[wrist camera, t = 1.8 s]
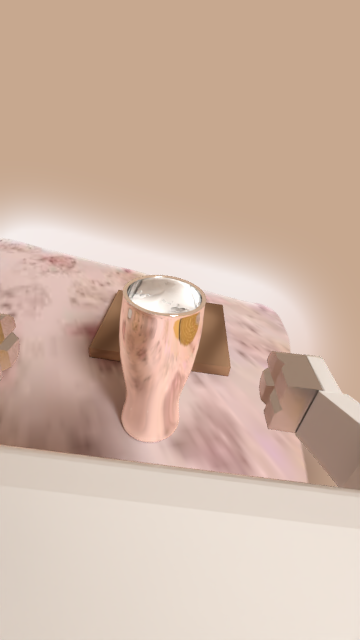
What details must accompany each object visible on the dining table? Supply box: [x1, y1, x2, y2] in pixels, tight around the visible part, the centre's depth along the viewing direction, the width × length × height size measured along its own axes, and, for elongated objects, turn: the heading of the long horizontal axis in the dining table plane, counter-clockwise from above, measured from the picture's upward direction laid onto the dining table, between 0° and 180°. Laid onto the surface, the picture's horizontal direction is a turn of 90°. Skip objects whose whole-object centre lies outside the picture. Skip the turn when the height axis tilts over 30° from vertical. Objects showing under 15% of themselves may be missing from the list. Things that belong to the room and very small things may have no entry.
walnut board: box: [89, 290, 231, 376], centre depth 44 cm, size 18×16×2 cm
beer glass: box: [119, 275, 206, 442], centre depth 27 cm, size 7×7×15 cm
